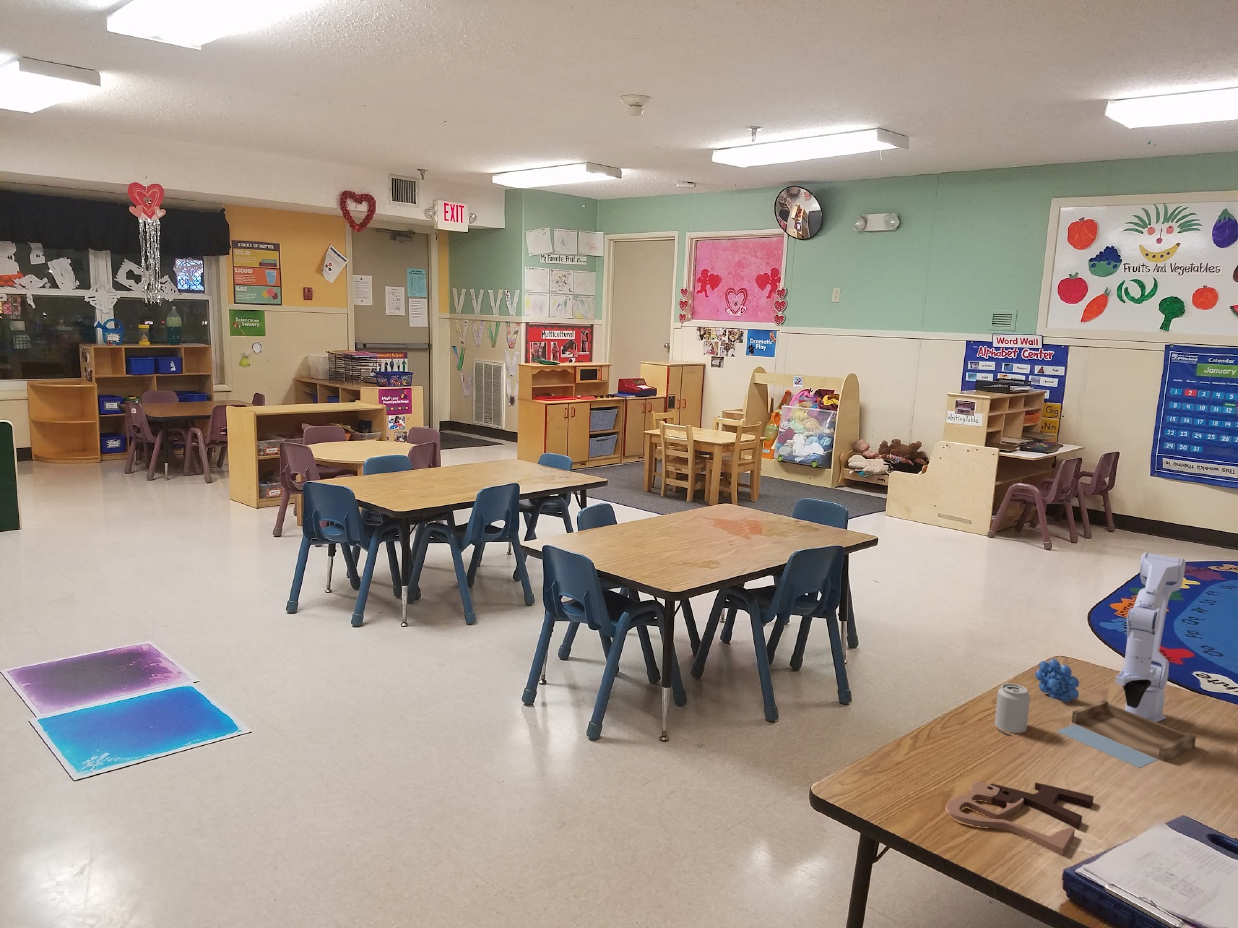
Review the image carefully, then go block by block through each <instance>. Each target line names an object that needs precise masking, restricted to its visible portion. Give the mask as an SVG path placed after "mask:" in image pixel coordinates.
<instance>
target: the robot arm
mask: <svg viewBox="0 0 1238 928" xmlns="http://www.w3.org/2000/svg"><path fill="white" fill-rule="evenodd" d="M1185 571H1186V560H1185V558H1183V557H1174V556H1168V555H1161V554H1157V553H1156V554H1155V553H1151V552H1150V553H1148V552H1147V551H1145V552H1144V553H1142V555H1141V558H1140V563H1139V575H1140V577H1139V578H1140V580H1141V584H1143V585H1144V586H1145V587H1143V588H1141V589H1140V590H1139V591H1138V593H1137V596H1136V599H1135V602H1134V604H1133V607H1129V609H1128V611H1127V615H1126V616H1127V617H1126V636H1127V638H1126V647H1125V656H1124V663H1123V664H1124V665H1123V668H1122V669H1121V670H1120V672H1119V673H1118V675H1116V676H1115V682H1114V684H1116V685H1118V686H1122V688H1123V691H1124V695H1125V706H1124V710H1126V711H1128V712H1131V713H1134V714H1136V715H1139V716H1141V717H1144V718H1146V719H1149V720H1151V721H1154V722H1156V723H1159V722H1160V721H1163V720H1166V718H1167V717H1166V716H1164V706H1165V698H1166V692H1165V690H1164V689H1166V686H1167V683H1168V680H1169V671H1170V670H1169V667H1170V663H1169V660H1168V658H1166V657H1165V656H1164V655H1163V653H1161V652H1160V648H1161V642H1162V637H1163V632H1164V627H1165V620H1166V614H1167V609H1168V604H1169V603H1168V602H1169V600H1170V597H1171V595H1172V593H1174V592H1177V591H1180V590H1181V588H1182V586H1183V581H1184V576H1185Z"/></svg>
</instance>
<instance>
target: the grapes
mask: <svg viewBox="0 0 1238 928" xmlns="http://www.w3.org/2000/svg"><path fill="white" fill-rule="evenodd" d="M1038 664H1039V665H1038V668H1039V669H1037V670H1036V671H1035V673H1034V675H1035V678H1036V680H1038V681H1039V683H1038V689H1039V690H1040V692H1042V693H1043V694H1048V697H1050V699H1051V698H1052V699H1060V700H1061V702H1064V703H1065V702H1068V703H1069V702H1072V699H1078V698H1079V696H1080V694H1079V690H1078V689H1077V688H1078V687H1079V686H1080V681H1079V679H1078V678H1077V677H1076V676H1074V675H1072V673H1073V672H1072V669H1071V667H1070V666H1069V665H1067V664H1062V665H1061V664H1060V661H1059V660H1057V659H1055V658H1052V659H1050V660H1049V661H1045V660H1042V661H1040V662H1039V663H1038Z"/></svg>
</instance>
